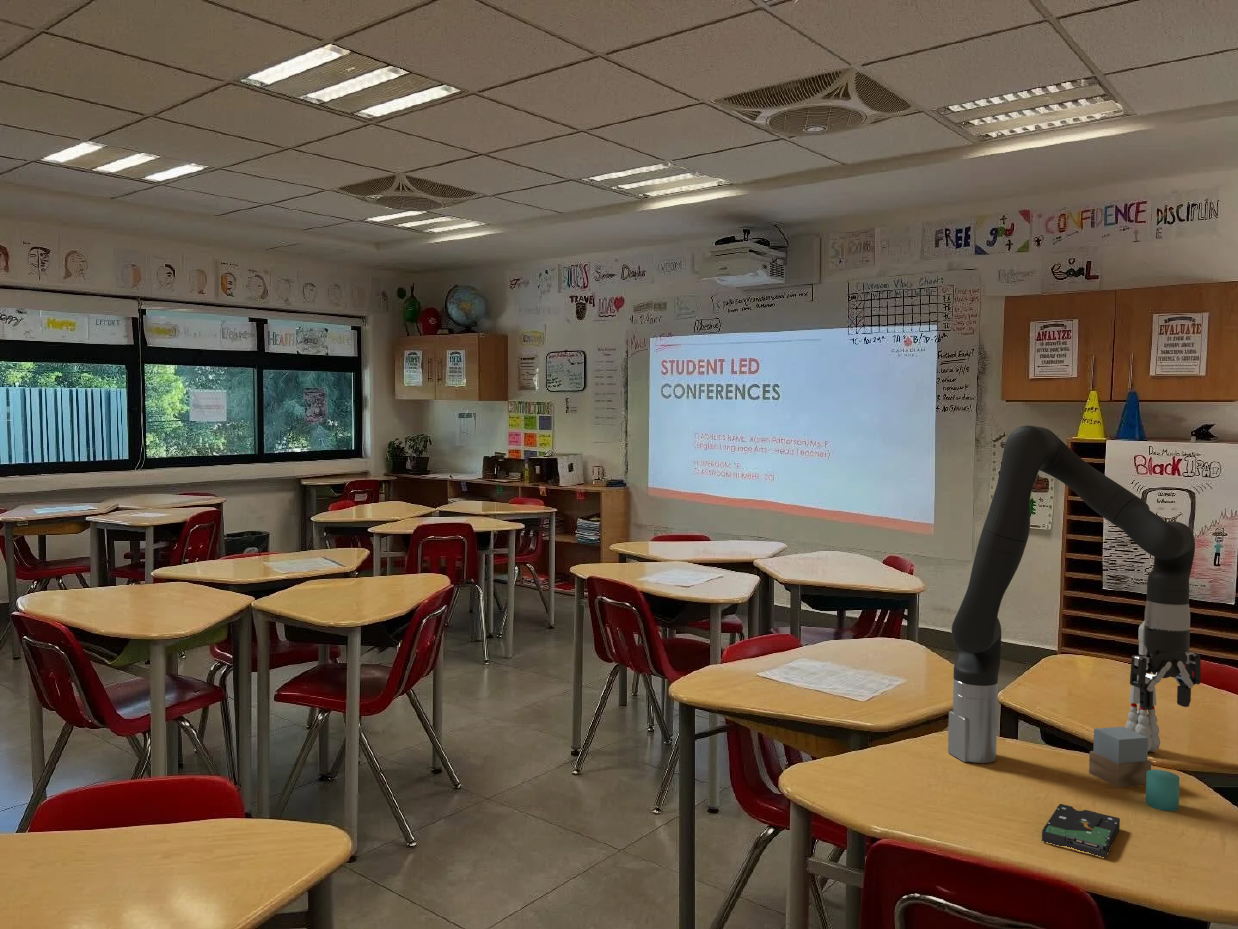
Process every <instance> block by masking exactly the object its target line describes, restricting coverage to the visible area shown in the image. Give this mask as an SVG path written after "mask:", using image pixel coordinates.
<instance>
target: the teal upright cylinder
mask: <svg viewBox="0 0 1238 929" xmlns="http://www.w3.org/2000/svg"><path fill="white" fill-rule="evenodd" d="M1146 803H1147V804H1146ZM1145 804H1146V806H1148V807H1150V806H1151V807H1150V808H1152V809H1156V810H1158V809H1159V811H1163V812H1164V811H1165V812H1176V811H1179V808H1180V776H1179V775H1177V774H1176V773H1173V772H1170V771H1167V770H1162V769H1151V770H1148V771H1147V772H1146V785H1145Z"/></svg>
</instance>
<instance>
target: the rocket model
mask: <svg viewBox="0 0 1238 929" xmlns="http://www.w3.org/2000/svg"><path fill="white" fill-rule="evenodd" d="M1144 625H1145V619H1144V620H1143V622H1142V623H1141V624H1140V625H1139V627H1138V656H1146V654H1147V648H1146V647H1145V645H1144ZM1137 681H1138V675H1137ZM1149 681H1150V680H1148V682H1149ZM1148 682H1147V683H1146V684H1148ZM1152 691H1153V709H1152V710H1146V709H1143V708H1142V707H1141V705H1140V703H1139V698H1140V697H1139V696H1140V690H1139V688H1138V687H1135V686H1132V685H1130V693H1129V699H1128V700H1129V701H1128V702H1129V703H1130V708H1129V712H1128V713H1127V719H1128V720H1127V721H1126V723H1125V726H1124V727H1125V728H1127V729H1129V730H1132V731H1134V732H1136V733H1139V734H1141V735H1143V736H1146V737H1148V752H1150V753H1151V752H1153V753H1154V752H1156V751H1157V750H1159V749H1160V745H1161V739H1160V735H1159V732H1160V728H1159V727H1160V726H1159V725H1158V724H1157V722H1158V718H1157V715H1156V709H1155V706H1157V694H1156V685H1155V686H1154V688H1153V689H1152Z"/></svg>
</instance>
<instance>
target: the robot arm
mask: <svg viewBox="0 0 1238 929" xmlns="http://www.w3.org/2000/svg"><path fill="white" fill-rule="evenodd" d="M1039 472H1042V473H1045V474H1046V475H1049V476H1050V477H1053V478H1055V479H1056V480H1058V481H1059V482H1061V483H1062V484H1064V485H1066V486H1067V487H1068V488H1069V489H1071V491H1073V492H1074V493H1075V494H1076V495H1077V496H1078V497H1079V498H1080V499H1081V500H1082V501H1083V502H1084V503H1085V504H1086V505H1087V506H1088V507H1089V508H1091V509H1092V510H1093V511H1094V512H1095V513H1097V514H1098V515H1099V516H1101V517H1102V518H1104V519H1105V520H1107V521H1108V522H1109V523H1111V524H1112V525H1114V526H1116V527H1117V528H1119V529H1120V530H1122V531H1123V532H1124V533H1125V535H1127V537H1129V538H1130V539H1131V541H1133V542H1134V543H1135V544H1136V545H1137V546H1138V547H1139V548H1141V549H1142V550H1143V551H1144V552H1146V553H1147V554H1148V555H1150V556H1152V557H1153V567H1152V569H1151V571H1150V572H1149V573H1148V576H1147V580H1146V602H1145V608H1144V620H1145V625H1144V645H1145V647H1146V648H1147V654H1146V656H1139V655H1136V654H1132V656H1131V661H1130V675H1129V676H1130V677H1129V685H1130V686H1131V685H1132V686H1135V687H1138V688H1139V690H1140V696H1139V697H1140V698H1139V703H1140V705H1141V707H1142V708H1143V709H1146V710H1147V711H1148V710H1152V709H1153V691H1152V689H1153V688H1154V686H1155V687H1156V685H1157V684H1158V683H1161V681H1162V680H1163V679H1168V678H1174V680H1175V681H1176V682H1177V684H1178V685H1177V687H1176V688H1177V689H1176V690H1177V692H1176V703H1177V705H1179V706H1181V707H1183V708H1189V707H1190V704H1191V700H1192V688H1193V687H1194V686H1195V685H1200V684H1201V683H1202V673H1201V672H1202V671H1201V670H1202V669H1201V668H1202V667H1201V666H1202V665H1201V664H1202V663H1201V661H1202V660H1201V655H1200V654H1199V653H1196V652H1192V651H1190V639H1191V638H1190V636H1191V611H1190V604H1189V603H1190V579H1191V578H1190V576H1191V573H1192V570H1193V565H1194V564H1193V563H1194V558H1195V553H1196V552H1195V551H1196V539H1195V538H1196V537H1195V535H1194V533H1193V531H1192V529H1191V528H1190V527H1189V526H1188V525H1187V524H1185V523H1183V522H1180V521H1166V520H1164V519H1163V518H1162V517H1160V516H1159V515H1158V514H1156V513H1154V512H1153V511H1151V510H1150V509H1151V508H1150V506H1149V504H1148V503H1147V502H1145V501H1144V500H1143V499H1141V498H1140V497H1139V496H1138V495H1136V494H1134V493H1133V492H1132V491H1130V490H1129V489H1127V488H1125V487H1124V486H1123V485H1120V484H1119V483H1117V482H1116V481H1114V480H1113V479H1111V478H1110V477H1108V476H1107V475H1106V474H1104V473H1103V472H1101V471H1099V470H1097V469H1096V468H1095V467H1093V466H1092V465H1090V464H1089V463H1088V462H1087V461H1085V460H1084V459H1083V458H1081V456H1079V455H1078V454H1077V453H1075V452H1074V450H1072V449H1071V448H1070V447H1069V446H1068V445H1067V444H1066V443H1065V442H1064V441H1063V440H1061V438H1059V437H1058V436H1057V435H1056V434H1055V433H1054V432H1053V431H1051V430H1050V429H1049V428H1046V427H1042V426H1036V425H1027V424H1026V425H1021V426H1019V427H1017V428H1015V429H1013V431H1011V432H1010V434H1009V435H1008V437H1007V439H1006V440H1005V444H1004V448H1003V451H1002V459H1001V463H1000V468H999V474H998V479H997V483H996V487H995V490H994V493H993V496H992V499H991V503H990V505H989V508H988V511H987V515H986V518H985V521H984V523H983V527H982V530H981V533H980V537H979V540H978V544H977V547H976V551H975V555H974V558H973V563H972V567H971V573H970V578H969V581H968V586H967V589H966V592H965V594H964V596H963V599H962V601H961V604H960V606H959V608H958V611H957V613H956V614H955V616H954V620H953V621H952V624H951V637H952V639H953V643H955V645H956V646H957V652H956V659H955V662H954V666H953V683H952V685H953V686H952V687H953V689H952V710H950V711H949V712H948V730H947V731H948V735H947V736H948V737H947V738H948V740H947V743H948V744H947V745H948V746H947V753H948V754H950V755H952V756H953V757H956V759H959V760H960V761H962V762H963V763H974V764H975V763H977V764H989V763H993V762H995V761H996V759H997V745H998V744H997V742H998V741H997V738H998V737H997V736H998V735H997V733H998V693H999V691H998V690H999V689H998V687H999V686H998V684H999V672H1000V667H1001V655H1002V651H1001V650H1002V627H1001V626H1002V625H1001V622H1000V619H999V617H998V615H999V611H1000V607H1001V604H1002V601H1003V598H1004V596H1005V593H1006V591H1007V589H1008V587H1009V585H1010V584H1011V581H1012V580H1013V579H1014V576H1015V574H1016V572H1017V570H1018V568H1019V566H1020V563H1021V561H1022V558H1023V555H1024V552H1025V550H1026V546H1027V543H1028V539H1029V535H1030V532H1031V531H1030V530H1031V496H1032V491H1033V487H1034V485H1035V482H1036V480H1037V476H1038V474H1039ZM1151 673H1152V674H1151ZM1137 675H1138V681H1137ZM1148 680H1150V681H1149V682H1148ZM1147 682H1148V684H1146V683H1147Z"/></svg>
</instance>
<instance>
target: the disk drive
mask: <svg viewBox="0 0 1238 929" xmlns="http://www.w3.org/2000/svg"><path fill="white" fill-rule="evenodd" d="M1120 823H1121V819H1120V817H1117V816H1113V815H1108V814H1104V813H1099V812H1096V811H1093V810H1088V809H1083V810H1077V809H1075V808H1074V807H1073V806H1071V805H1067V804H1063V803H1059V804H1058V805H1057V807H1056V809H1055V810H1054V812H1053V813H1052V815H1051V817H1050V818H1049V819H1048V820H1047V823H1046V824H1045V825H1044V827H1043V829H1042V831H1041V842H1042V841H1044V842H1048V843H1052V844H1055V845H1059V846H1067V847H1070V848H1071V847H1072V848H1074V849H1077V850H1080V851H1084V852H1089V853H1091V854H1094V855H1098V856H1101V857H1104V858H1105V857H1106V855H1107V853H1108V852H1109V853H1110V851H1109V849H1110V847H1111V848H1112V846H1113V844H1114V842H1115V840H1116V838H1115V837H1117V836H1116V835H1118V834H1119V832H1118V831H1120V829H1121V828H1120V825H1121V824H1120ZM1114 839H1115V840H1114ZM1113 841H1114V842H1113ZM1112 843H1113V844H1112ZM1111 845H1112V846H1111ZM1110 850H1111V849H1110ZM1107 856H1108V855H1107ZM1106 858H1107V857H1106Z"/></svg>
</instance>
